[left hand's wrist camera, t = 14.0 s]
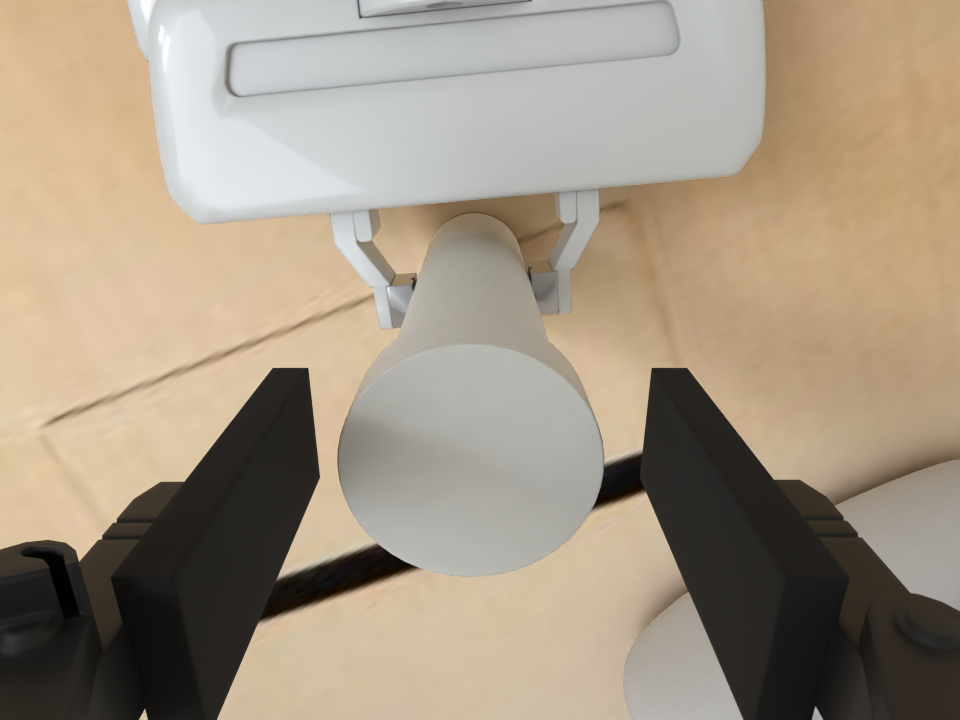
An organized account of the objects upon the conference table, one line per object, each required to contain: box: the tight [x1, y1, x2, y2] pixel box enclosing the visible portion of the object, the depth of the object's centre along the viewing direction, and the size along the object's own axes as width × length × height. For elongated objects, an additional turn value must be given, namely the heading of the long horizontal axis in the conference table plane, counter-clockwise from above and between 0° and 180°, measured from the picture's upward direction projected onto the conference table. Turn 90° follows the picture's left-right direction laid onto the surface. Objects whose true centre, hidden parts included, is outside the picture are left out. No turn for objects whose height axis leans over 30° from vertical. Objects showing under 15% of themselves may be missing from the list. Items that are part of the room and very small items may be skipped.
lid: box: [338, 315, 604, 577], centre depth 14 cm, size 5×5×2 cm
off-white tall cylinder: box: [398, 213, 548, 340], centre depth 22 cm, size 4×4×18 cm
